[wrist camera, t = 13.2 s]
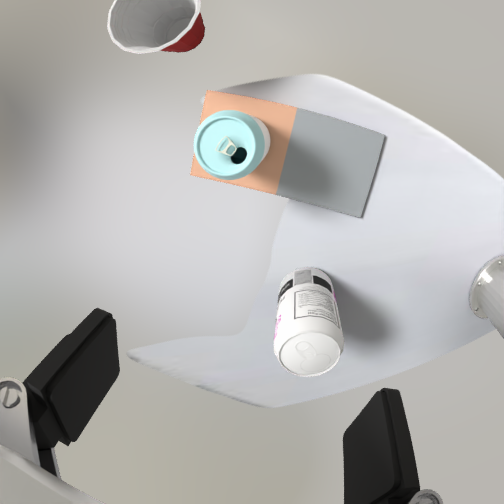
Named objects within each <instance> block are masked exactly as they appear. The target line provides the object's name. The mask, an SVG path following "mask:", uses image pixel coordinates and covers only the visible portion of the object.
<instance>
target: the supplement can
mask: <svg viewBox="0 0 504 504" xmlns="http://www.w3.org/2000/svg"><path fill="white" fill-rule="evenodd" d="M343 348H344V337H343V332H342V327H341V322H340V317H339V312H338V307H337V302H336V297H335V293H334V288H333V285H332V282H331V279H330V278H329V277H328V276H327V275H326V274H325V273H324V272H323V271H321V270H319V269H317V268H311V267H303V268H298V269H295V270H293V271H291V272H290V273H288V274H287V275H286V276H285V277H284V279H283V280H282V282H281V284H280V287H279V295H278V306H277V316H276V326H275V336H274V353H275V355H276V356H277V358H278V360H279V362H280V363H281V365H282V367H283V368H284V369H285V370H287V371H288V372H289V373H292V374H294V375H297V376H303V377H312V376H319V375H321V374H324V373H326V372H328V371H329V370H331V369H332V368H333V367H334V366H335V365H336V364H337V362H338V360H339V358H340V355H341V353H342V352H343Z"/></svg>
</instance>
